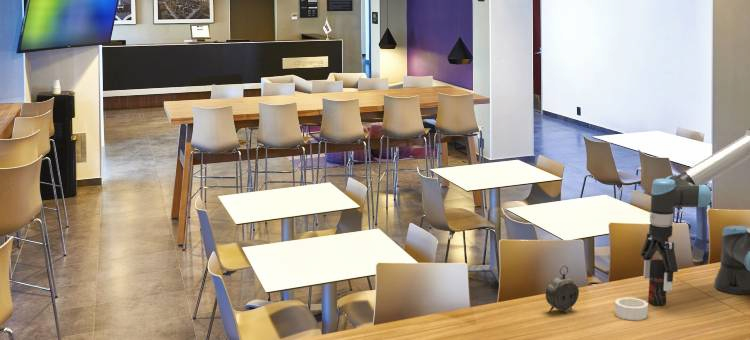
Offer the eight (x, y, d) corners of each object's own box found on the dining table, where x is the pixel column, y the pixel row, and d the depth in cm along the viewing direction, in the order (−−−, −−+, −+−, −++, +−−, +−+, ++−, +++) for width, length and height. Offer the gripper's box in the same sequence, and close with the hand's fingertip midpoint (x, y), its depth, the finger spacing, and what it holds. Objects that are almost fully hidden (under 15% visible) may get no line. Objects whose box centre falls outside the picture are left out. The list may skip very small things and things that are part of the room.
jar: (637, 308, 300) (638, 296, 299) (653, 318, 290) (653, 306, 289) (609, 310, 298) (610, 299, 297) (624, 321, 288) (624, 309, 287)
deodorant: (667, 307, 301) (669, 264, 298) (649, 306, 302) (651, 264, 299) (665, 301, 306) (667, 259, 304) (647, 300, 308) (649, 259, 305)
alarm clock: (571, 307, 302) (572, 261, 299) (580, 312, 297) (582, 266, 294) (544, 311, 298) (545, 265, 295) (553, 316, 293) (554, 270, 290)
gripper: (633, 216, 310) (629, 273, 314) (670, 234, 286) (666, 296, 290) (652, 215, 312) (649, 272, 316) (691, 232, 288) (686, 294, 292)
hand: (657, 284), depth 303 cm, fingers open, 13 cm apart
